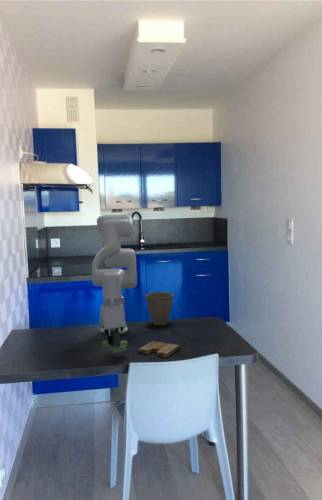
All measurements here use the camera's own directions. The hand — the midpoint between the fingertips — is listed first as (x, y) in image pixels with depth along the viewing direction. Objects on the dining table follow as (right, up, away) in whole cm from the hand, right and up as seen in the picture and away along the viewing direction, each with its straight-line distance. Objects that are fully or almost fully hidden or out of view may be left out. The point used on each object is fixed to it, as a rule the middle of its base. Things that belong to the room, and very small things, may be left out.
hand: (113, 343), depth 192 cm
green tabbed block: (+1, -2, +1) cm, 3 cm away
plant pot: (+20, 0, +51) cm, 55 cm away
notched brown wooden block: (+19, -5, +8) cm, 22 cm away
